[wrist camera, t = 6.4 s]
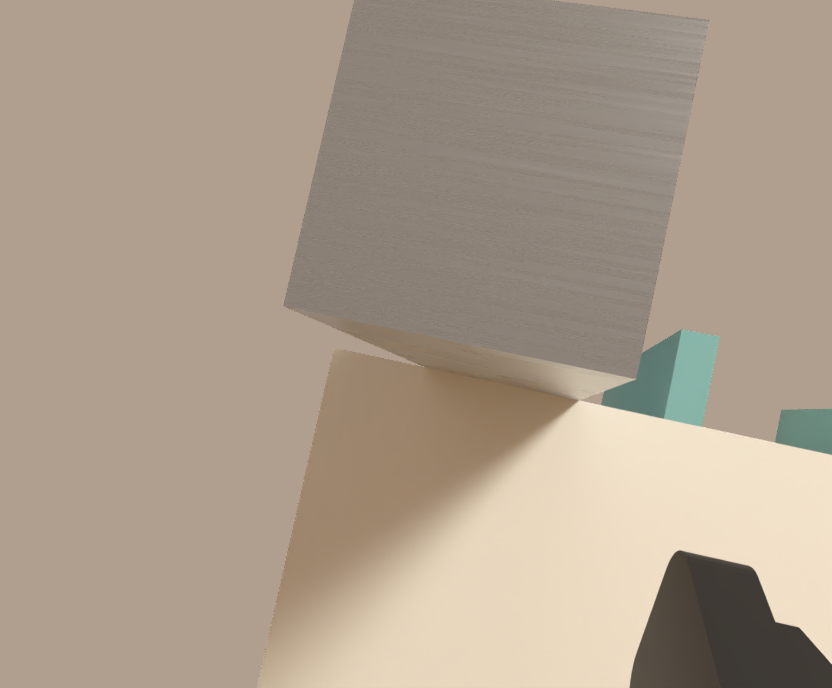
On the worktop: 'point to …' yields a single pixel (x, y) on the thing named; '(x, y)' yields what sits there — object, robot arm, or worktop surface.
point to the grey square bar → (499, 186)
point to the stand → (521, 533)
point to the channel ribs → (702, 391)
